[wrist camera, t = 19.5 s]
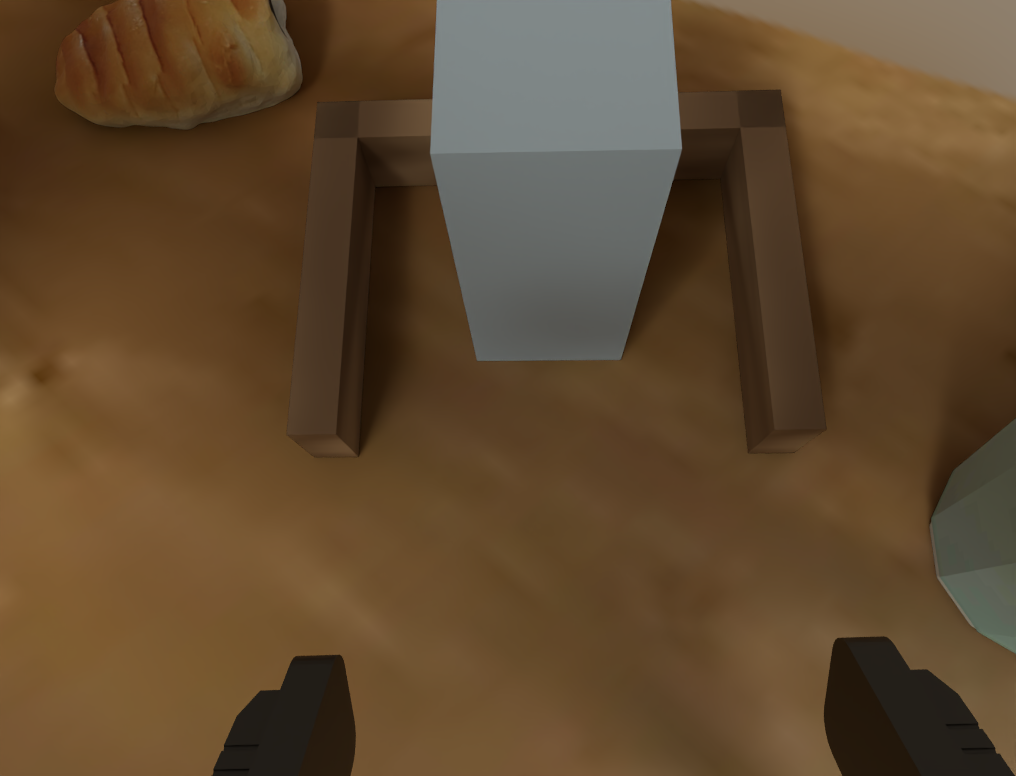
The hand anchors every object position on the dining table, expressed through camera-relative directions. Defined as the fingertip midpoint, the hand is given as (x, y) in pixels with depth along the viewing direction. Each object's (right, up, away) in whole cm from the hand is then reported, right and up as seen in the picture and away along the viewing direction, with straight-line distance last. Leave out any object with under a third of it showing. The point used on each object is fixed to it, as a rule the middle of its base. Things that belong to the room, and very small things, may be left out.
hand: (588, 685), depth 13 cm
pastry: (-14, +18, +19) cm, 29 cm away
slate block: (0, +8, +15) cm, 17 cm away
